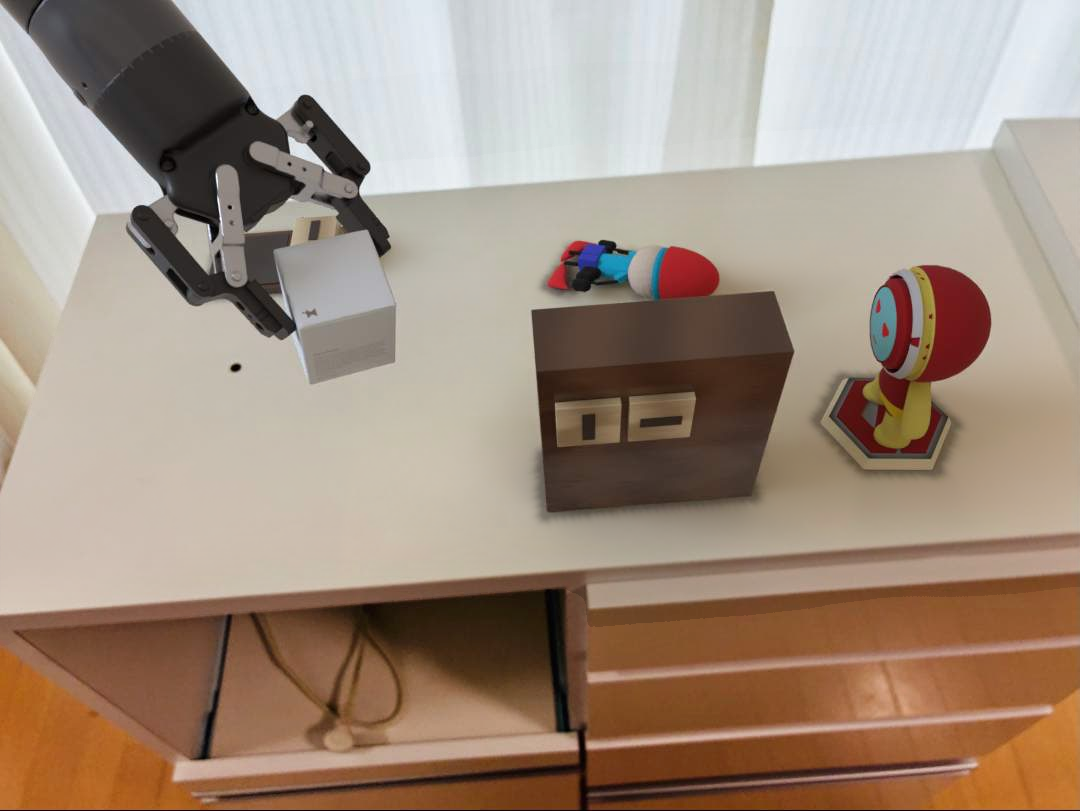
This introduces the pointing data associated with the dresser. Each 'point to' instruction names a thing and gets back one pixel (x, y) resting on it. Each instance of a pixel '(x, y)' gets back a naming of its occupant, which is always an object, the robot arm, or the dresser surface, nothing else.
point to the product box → (338, 305)
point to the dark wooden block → (657, 398)
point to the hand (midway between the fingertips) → (338, 292)
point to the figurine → (910, 368)
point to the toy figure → (639, 270)
